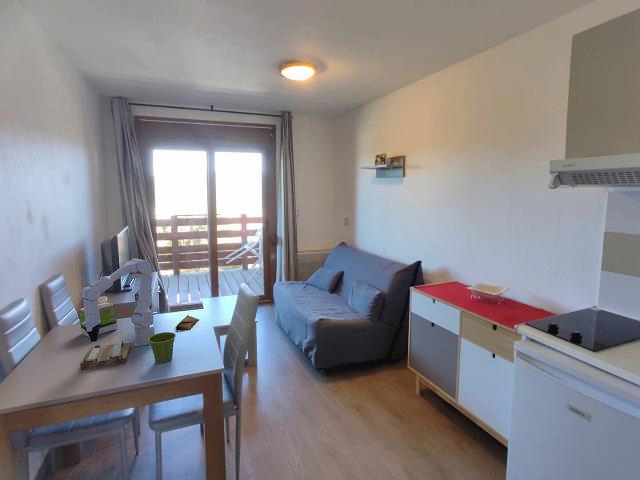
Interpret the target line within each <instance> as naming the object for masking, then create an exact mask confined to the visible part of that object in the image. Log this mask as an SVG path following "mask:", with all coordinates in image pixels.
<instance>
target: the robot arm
mask: <svg viewBox="0 0 640 480" xmlns="http://www.w3.org/2000/svg"><path fill="white" fill-rule="evenodd" d="M151 266H152V264H151V263H150V262H149V261H148V260H147V259H140V258H139V259H138V258H136V257H135V258H134V257H133V258H131V259H130V260H128V261H126V262H125V263H124V264H123V265H122V266H120V267H119V268H118V269H117V270H115V271H114V272H112V273H111V274H110V275H108V276H107V275H104V276H100V277H99V279H98V280H96V281H95V282H93V283H90V285H89V286H84V287H83V288H82V290H81V291H80V293H79V296H80V298H82V301H83V308H84V313H85V322H83V323H82V324H83V325H86V328H85V331H86V332H87V333H88V335H89V337H88V338H89V339H90V343H95V342H97V341H98V339H99V335H100V334H99V329H100V326H101V323H100V322H101V320H100V315H99V305H98V304H99V298H100V297H101V294H102V293H104V292H106V291H107V290H108V289H110V288H111V287H113V285H114V282H115V281H118V279H121V278H122V277H124V276H125V275H127V274H129V273H135V274H137V275H138V276H139V277H140V281H139V289H138V290H139V297H138V304H137V308H135V309H134V310H133V314H132V315H131V316H130V317H131V318H130V319H131V323H132V324H133V327H134V337H135V342H134V344H133V347H139V346H140V347H141V346H147V345H149V346H150V342H149V341H148V338H149V337H151V336H152V335H155V334H156V329H155V324H153V323H152V317H151V311H150V309H149V302H150V294H151V288H152V285H153V278H154V273H153V270H152V267H151ZM151 323H152V325H151Z"/></svg>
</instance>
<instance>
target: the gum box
mask: <svg viewBox="0 0 640 480" xmlns="http://www.w3.org/2000/svg"><path fill="white" fill-rule="evenodd" d="M152 288H153V287H151V294H150V302H149V309H150V311H151V317H152V323H151V325H153V323H154V308H153V306H154V305H153V292H152V291H153V289H152ZM138 297H139V289H138V290H137V291H136V292H135V293H134V306H135V309H136V308H137V304H138Z"/></svg>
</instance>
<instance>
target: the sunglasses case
mask: <svg viewBox="0 0 640 480" xmlns="http://www.w3.org/2000/svg"><path fill="white" fill-rule="evenodd" d="M198 321H200V319H198V318H196V317H193V316H190V315H189V314H186V316H185V317H184V318H183V319H182V320H181V321H179V323H177V325H176V326H175V330H176V331H178V330H182V331H191V330H192V328H193V326H195V325H196V324H197V322H198Z"/></svg>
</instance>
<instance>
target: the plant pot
mask: <svg viewBox="0 0 640 480" xmlns="http://www.w3.org/2000/svg"><path fill="white" fill-rule="evenodd" d="M176 335H177V334H176V333H174V332H172V331H171V332H170V331H165V332H163V331H162V332H159V333H155V335H152V336H151V337H149V338H148V341H149V342H150V344H149V346H151V349H152V354H153V357H154V360H155V362H156V364H157V363H158V364H164V363H166V362H170V361H171V360H172V359H173V353H174V345H175V344H174V343H175V338H176Z"/></svg>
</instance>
